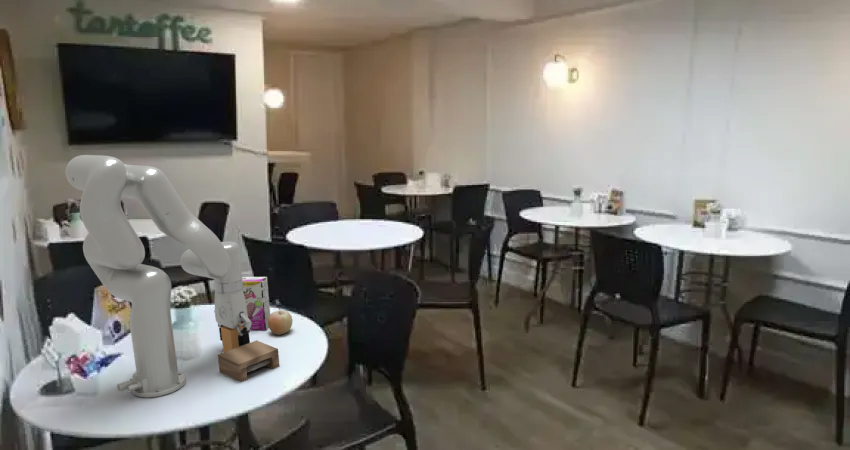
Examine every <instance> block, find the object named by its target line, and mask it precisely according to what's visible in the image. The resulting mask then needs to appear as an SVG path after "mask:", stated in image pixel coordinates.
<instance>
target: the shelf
mask: <svg viewBox="0 0 850 450" xmlns="http://www.w3.org/2000/svg"><path fill="white" fill-rule="evenodd" d="M279 357H280V355H279V348H277V347H274V346H272V345H269V344H266V343H264V342H262V341H259V340H254V341H250V343H248V344H245V345H243V346H240V347H237V348H234V349H232V350H229V351H226V352H223V351H222V352H221V353H218V354H217V360H218V369H219V370H218V371H219V373H221V374H222V375H224V376H227V377H229V378H231V379H232V380H235V381H237V382H239V383H243V382H246V381H248V374H247V373H249V372H252V371H255V370H258V369H260V368H262V367H265V366H266V367H268V368H271V369H272V370H273V369H277V368H279V367H280V365H281V364H280V358H279Z"/></svg>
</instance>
